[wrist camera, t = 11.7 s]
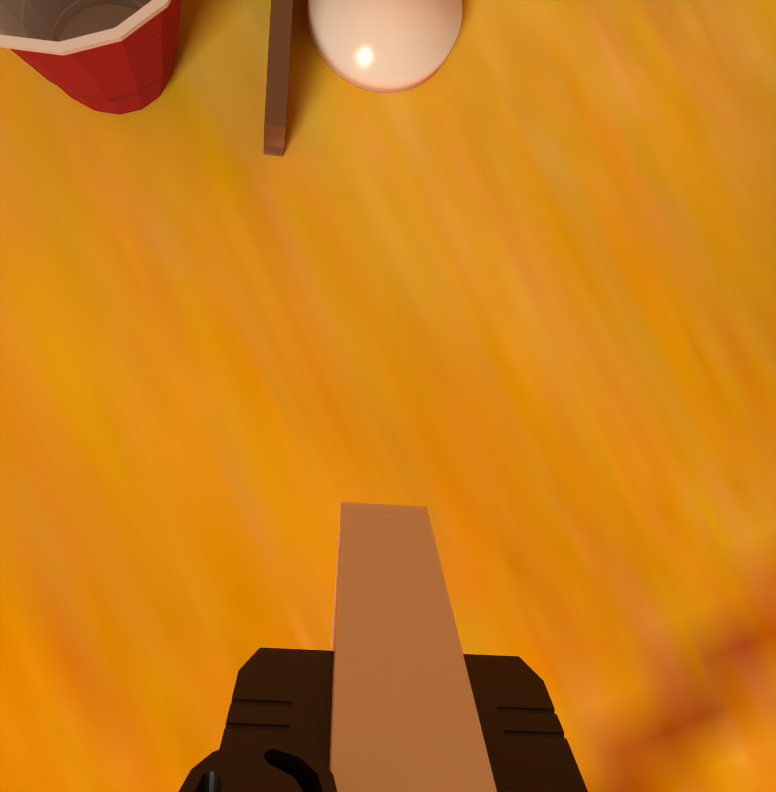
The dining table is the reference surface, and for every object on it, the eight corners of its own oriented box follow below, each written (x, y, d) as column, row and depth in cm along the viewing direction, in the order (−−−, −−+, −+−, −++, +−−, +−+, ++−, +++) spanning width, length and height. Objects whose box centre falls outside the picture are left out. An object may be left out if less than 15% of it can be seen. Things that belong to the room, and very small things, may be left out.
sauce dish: (456, -39, 41) (466, -62, 39) (448, 104, 40) (458, 88, 38) (311, -63, 39) (313, -88, 37) (302, 85, 39) (304, 67, 37)
